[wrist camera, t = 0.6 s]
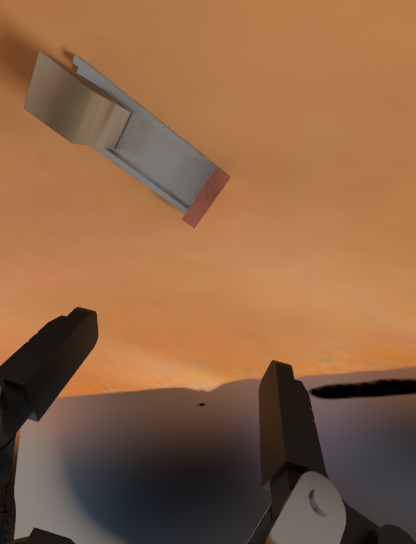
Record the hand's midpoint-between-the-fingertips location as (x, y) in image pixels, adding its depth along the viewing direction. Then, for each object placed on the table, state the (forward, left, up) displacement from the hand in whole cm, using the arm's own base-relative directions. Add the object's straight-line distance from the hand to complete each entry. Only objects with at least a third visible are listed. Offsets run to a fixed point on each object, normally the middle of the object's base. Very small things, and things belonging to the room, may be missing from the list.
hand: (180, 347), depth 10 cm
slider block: (-14, -13, -26) cm, 32 cm away
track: (-10, -8, -27) cm, 30 cm away
